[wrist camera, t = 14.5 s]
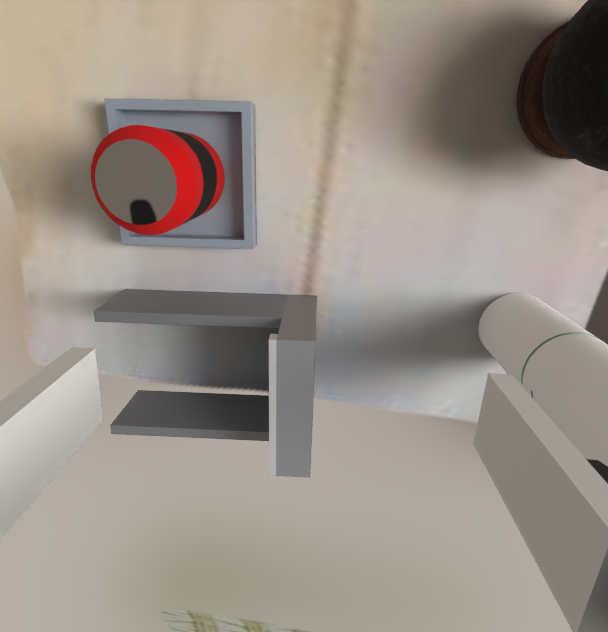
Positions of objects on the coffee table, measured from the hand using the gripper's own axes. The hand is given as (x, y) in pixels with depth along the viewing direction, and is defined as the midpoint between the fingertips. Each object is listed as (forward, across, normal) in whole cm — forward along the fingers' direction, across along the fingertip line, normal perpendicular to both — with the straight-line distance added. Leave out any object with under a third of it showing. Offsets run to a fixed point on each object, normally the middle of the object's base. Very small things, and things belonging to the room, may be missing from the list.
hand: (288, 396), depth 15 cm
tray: (+31, -12, +6) cm, 33 cm away
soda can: (+30, -12, +6) cm, 33 cm away
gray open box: (+31, -9, -12) cm, 34 cm away
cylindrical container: (+31, +22, -8) cm, 38 cm away
